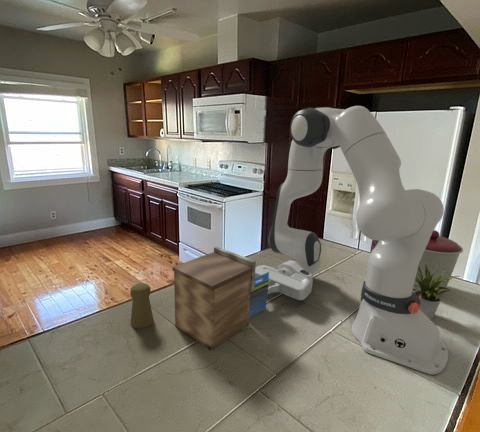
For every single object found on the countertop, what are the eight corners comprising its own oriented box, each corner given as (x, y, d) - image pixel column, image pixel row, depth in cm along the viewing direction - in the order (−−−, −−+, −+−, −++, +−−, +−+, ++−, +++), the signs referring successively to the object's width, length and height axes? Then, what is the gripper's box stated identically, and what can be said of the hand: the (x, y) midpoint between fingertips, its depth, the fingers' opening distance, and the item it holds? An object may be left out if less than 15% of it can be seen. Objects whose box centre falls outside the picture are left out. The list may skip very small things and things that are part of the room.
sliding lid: (254, 290, 84) (255, 261, 82) (211, 314, 72) (212, 281, 70) (216, 273, 93) (216, 246, 91) (173, 292, 81) (172, 262, 79)
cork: (125, 324, 84) (122, 287, 81) (142, 313, 89) (140, 278, 86) (142, 331, 82) (140, 293, 79) (158, 319, 87) (156, 283, 84)
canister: (432, 304, 100) (446, 242, 94) (383, 280, 115) (393, 226, 109) (463, 292, 108) (477, 235, 103) (413, 271, 123) (423, 220, 118)
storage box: (248, 325, 86) (251, 271, 81) (211, 350, 75) (212, 290, 71) (212, 305, 94) (213, 256, 90) (175, 326, 84) (174, 271, 80)
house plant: (382, 305, 98) (391, 256, 94) (412, 296, 104) (421, 251, 100) (425, 331, 86) (437, 277, 82) (456, 320, 92) (469, 269, 87)
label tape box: (257, 303, 97) (259, 267, 93) (267, 309, 94) (269, 271, 91) (236, 314, 90) (238, 275, 87) (246, 320, 88) (248, 281, 84)
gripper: (264, 257, 110) (238, 269, 99) (317, 276, 97) (293, 292, 87) (263, 274, 111) (237, 287, 101) (315, 294, 98) (291, 312, 88)
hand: (264, 290), depth 94 cm, fingers closed
